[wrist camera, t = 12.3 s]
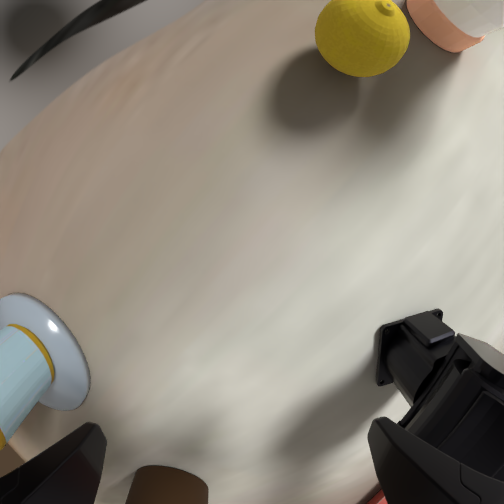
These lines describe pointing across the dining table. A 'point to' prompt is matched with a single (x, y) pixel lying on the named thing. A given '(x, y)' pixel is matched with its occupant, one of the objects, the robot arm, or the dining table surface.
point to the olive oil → (166, 487)
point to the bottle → (21, 376)
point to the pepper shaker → (457, 21)
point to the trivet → (51, 349)
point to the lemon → (362, 36)
